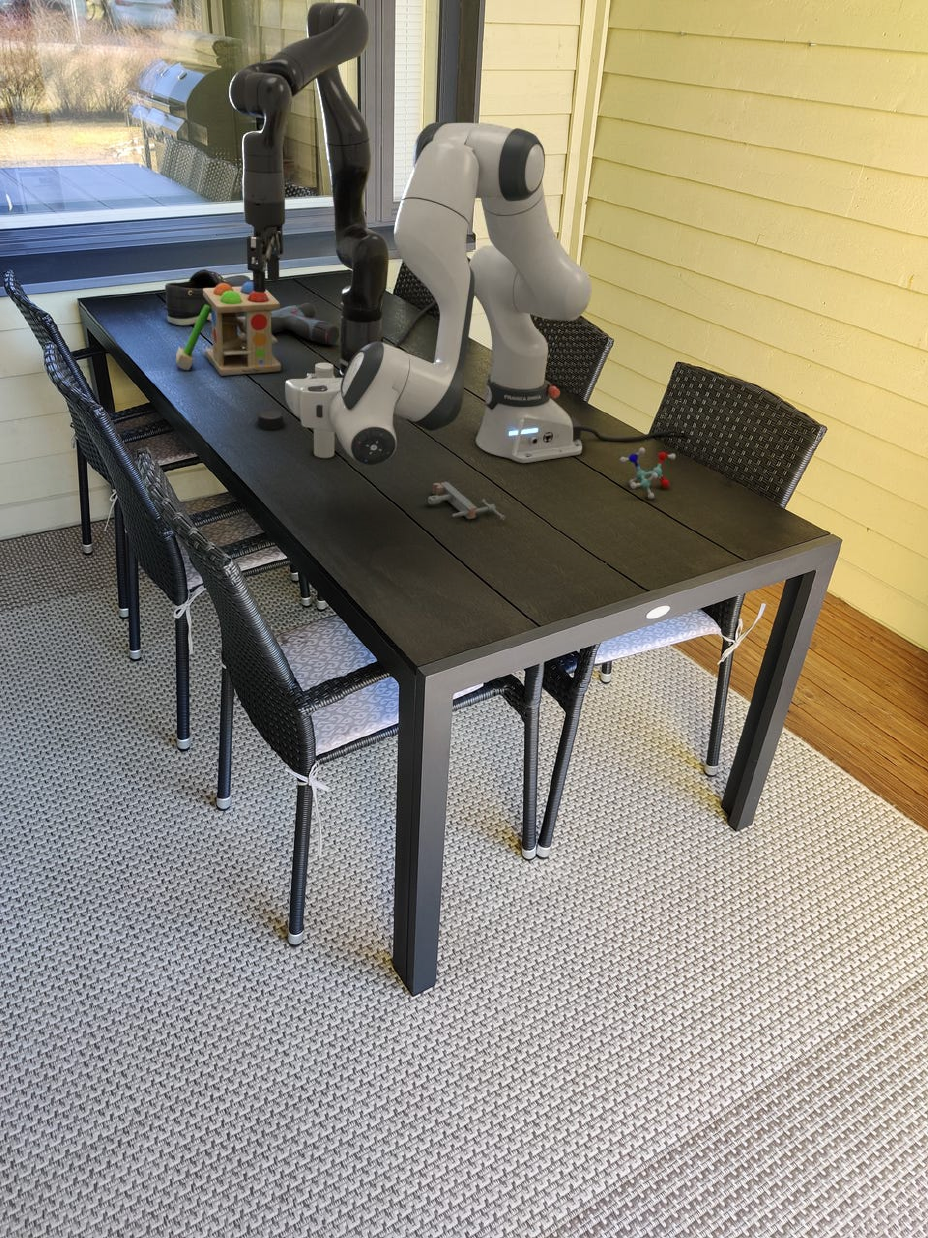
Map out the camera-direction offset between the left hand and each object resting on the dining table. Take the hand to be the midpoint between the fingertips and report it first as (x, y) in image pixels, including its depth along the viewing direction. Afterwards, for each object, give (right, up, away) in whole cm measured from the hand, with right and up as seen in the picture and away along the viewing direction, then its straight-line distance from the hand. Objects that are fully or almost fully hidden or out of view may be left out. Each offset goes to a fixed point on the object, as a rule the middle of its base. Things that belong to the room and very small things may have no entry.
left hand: (266, 285), depth 188 cm
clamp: (+37, -44, -8) cm, 58 cm away
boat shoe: (-30, +19, +74) cm, 82 cm away
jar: (+10, -31, +7) cm, 33 cm away
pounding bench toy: (-18, -4, +42) cm, 46 cm away
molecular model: (+73, -38, +6) cm, 83 cm away
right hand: (+16, -21, -15) cm, 30 cm away
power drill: (-1, +10, +65) cm, 66 cm away
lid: (-2, -22, +15) cm, 27 cm away
